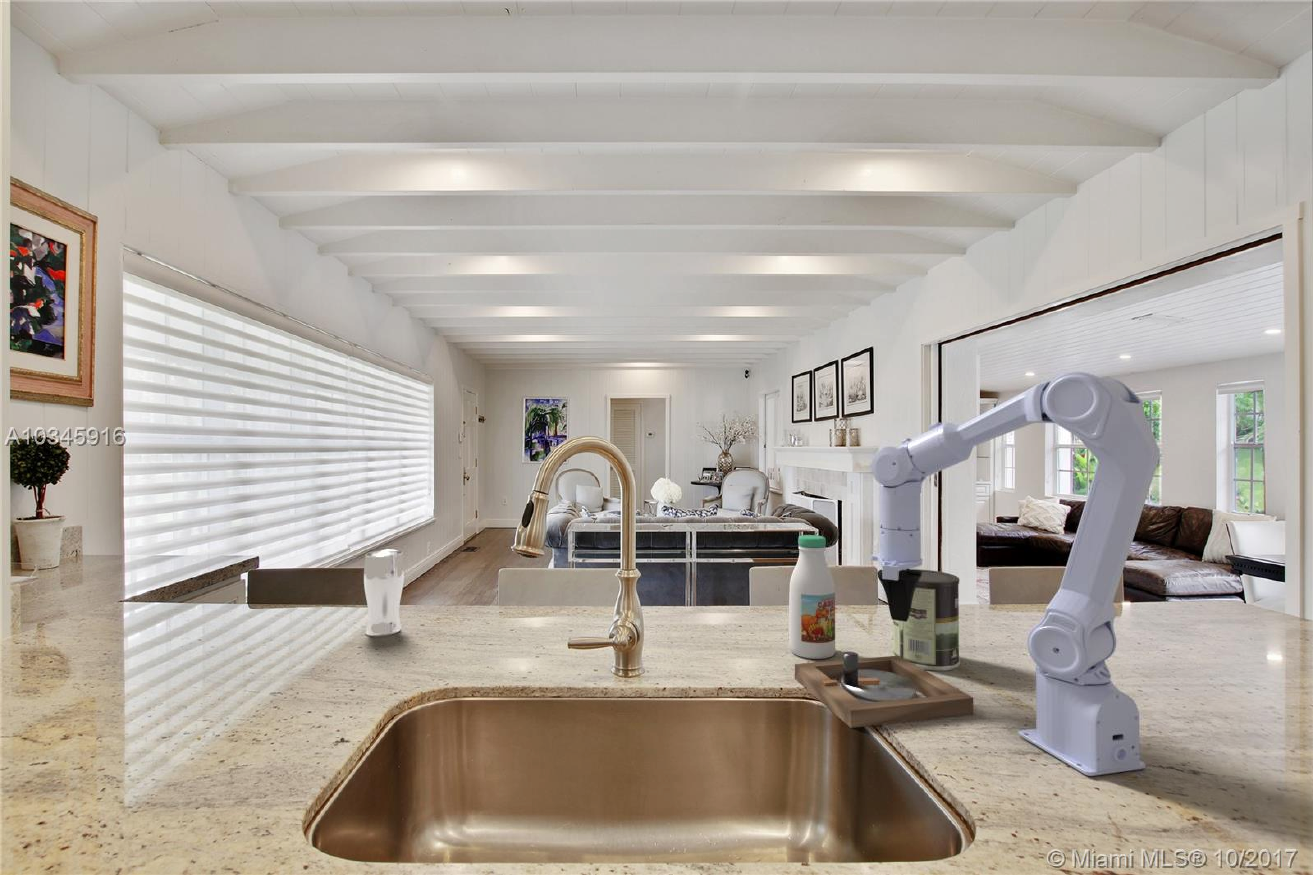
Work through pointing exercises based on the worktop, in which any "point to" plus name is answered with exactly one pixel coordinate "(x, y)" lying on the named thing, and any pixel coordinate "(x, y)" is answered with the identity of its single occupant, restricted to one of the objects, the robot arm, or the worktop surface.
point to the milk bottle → (812, 602)
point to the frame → (936, 704)
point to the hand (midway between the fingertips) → (899, 619)
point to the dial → (873, 682)
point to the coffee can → (931, 624)
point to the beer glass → (383, 591)
